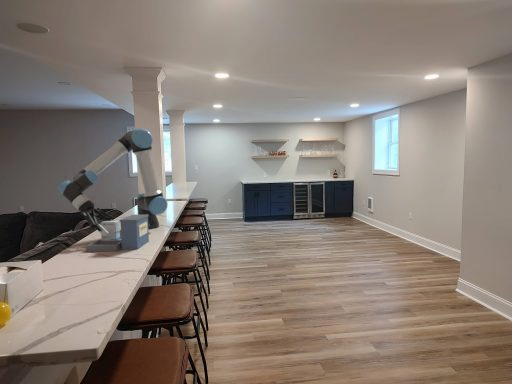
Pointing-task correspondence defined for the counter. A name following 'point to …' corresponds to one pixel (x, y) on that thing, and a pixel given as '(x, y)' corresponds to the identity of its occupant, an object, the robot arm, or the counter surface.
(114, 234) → the ink box
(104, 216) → the robot arm
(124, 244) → the housing unit
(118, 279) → the counter surface
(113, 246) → the tray
